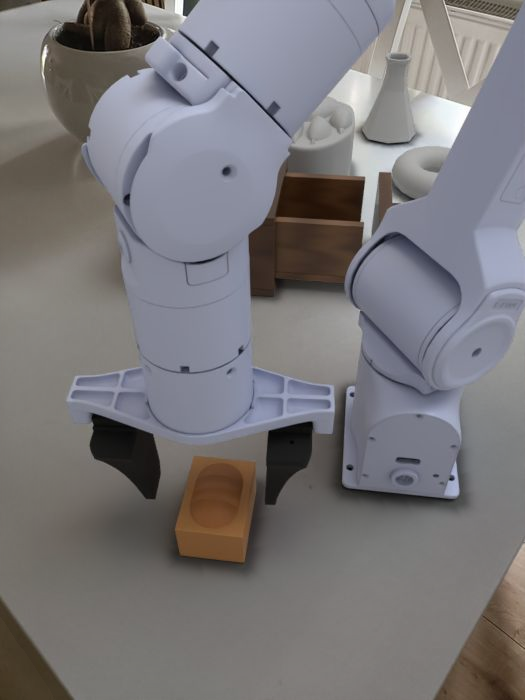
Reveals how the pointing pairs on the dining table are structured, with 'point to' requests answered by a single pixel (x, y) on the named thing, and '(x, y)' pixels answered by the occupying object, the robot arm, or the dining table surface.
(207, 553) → the block with oval recess
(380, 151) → the dining table surface
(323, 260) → the drawer
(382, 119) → the flask
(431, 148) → the donut
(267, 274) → the cabinet
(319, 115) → the lumpy-topped squat cylinder
